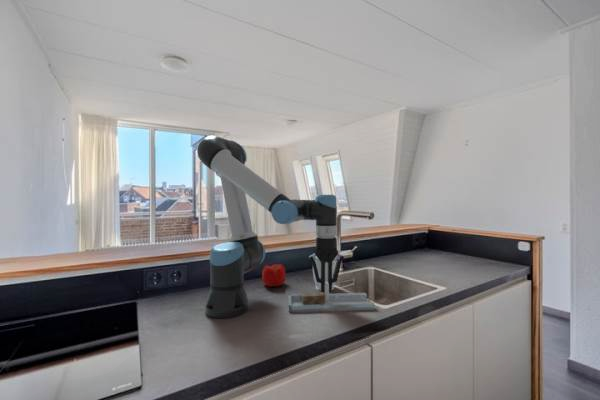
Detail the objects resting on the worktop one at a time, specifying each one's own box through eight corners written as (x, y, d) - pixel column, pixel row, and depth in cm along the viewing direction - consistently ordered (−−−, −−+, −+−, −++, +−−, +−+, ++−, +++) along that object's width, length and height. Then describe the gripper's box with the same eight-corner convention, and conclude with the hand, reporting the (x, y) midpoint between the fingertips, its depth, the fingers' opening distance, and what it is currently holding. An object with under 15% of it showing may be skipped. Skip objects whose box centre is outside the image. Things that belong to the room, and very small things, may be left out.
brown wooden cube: (314, 306, 100) (314, 295, 100) (312, 302, 104) (312, 291, 104) (325, 306, 100) (325, 295, 100) (323, 302, 104) (323, 291, 104)
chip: (303, 307, 99) (302, 296, 99) (302, 303, 103) (302, 292, 103) (314, 307, 100) (314, 296, 100) (312, 302, 104) (312, 292, 103)
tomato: (265, 290, 120) (265, 269, 120) (260, 282, 131) (260, 263, 131) (289, 287, 123) (289, 267, 123) (282, 280, 135) (282, 261, 134)
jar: (335, 295, 114) (335, 258, 114) (310, 293, 116) (310, 257, 116) (337, 286, 125) (337, 253, 124) (314, 285, 127) (314, 252, 126)
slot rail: (288, 314, 96) (288, 306, 96) (288, 302, 107) (288, 294, 107) (374, 312, 97) (374, 303, 97) (365, 300, 108) (365, 292, 108)
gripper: (309, 238, 97) (309, 305, 98) (346, 238, 98) (346, 304, 99) (307, 235, 105) (307, 297, 105) (341, 235, 106) (341, 296, 106)
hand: (326, 300), depth 102 cm, fingers closed
